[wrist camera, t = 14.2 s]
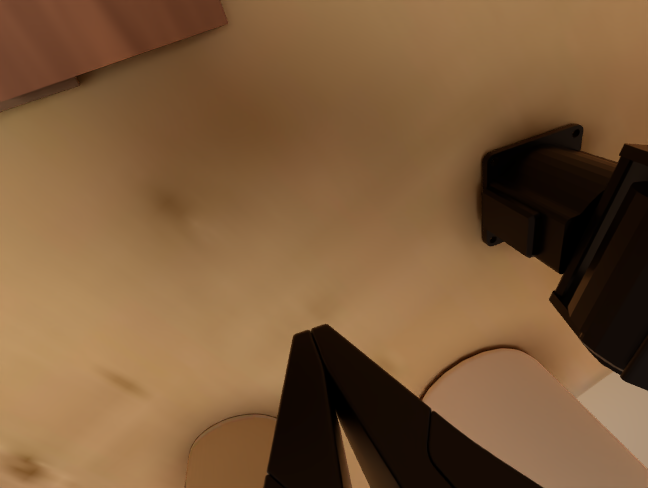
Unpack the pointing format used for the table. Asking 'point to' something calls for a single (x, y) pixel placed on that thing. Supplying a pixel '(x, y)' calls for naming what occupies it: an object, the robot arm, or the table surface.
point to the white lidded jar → (532, 423)
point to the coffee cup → (232, 453)
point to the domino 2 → (89, 35)
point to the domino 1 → (39, 93)
